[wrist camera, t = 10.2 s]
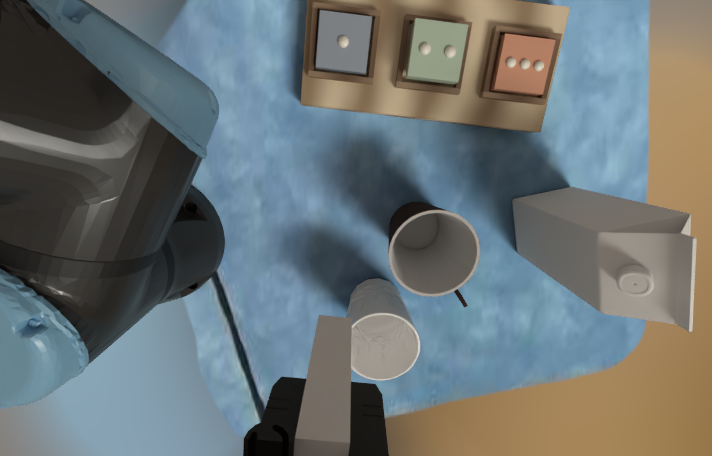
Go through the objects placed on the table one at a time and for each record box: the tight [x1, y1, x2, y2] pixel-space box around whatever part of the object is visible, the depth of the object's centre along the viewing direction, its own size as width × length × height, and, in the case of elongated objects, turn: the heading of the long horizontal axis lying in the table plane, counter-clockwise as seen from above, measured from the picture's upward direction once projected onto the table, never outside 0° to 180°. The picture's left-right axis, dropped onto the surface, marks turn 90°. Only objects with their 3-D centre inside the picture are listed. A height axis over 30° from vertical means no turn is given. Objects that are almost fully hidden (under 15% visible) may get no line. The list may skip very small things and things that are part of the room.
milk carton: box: [512, 187, 696, 331], centre depth 32 cm, size 7×7×19 cm
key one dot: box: [316, 10, 372, 76], centre depth 34 cm, size 5×5×2 cm
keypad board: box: [301, 0, 570, 132], centre depth 35 cm, size 26×12×3 cm, turn 84°
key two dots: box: [405, 18, 468, 84], centre depth 33 cm, size 5×5×2 cm
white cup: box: [346, 278, 420, 380], centre depth 39 cm, size 8×8×10 cm
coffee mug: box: [388, 202, 480, 307], centre depth 37 cm, size 12×9×10 cm
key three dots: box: [489, 34, 556, 96], centre depth 34 cm, size 5×5×2 cm
